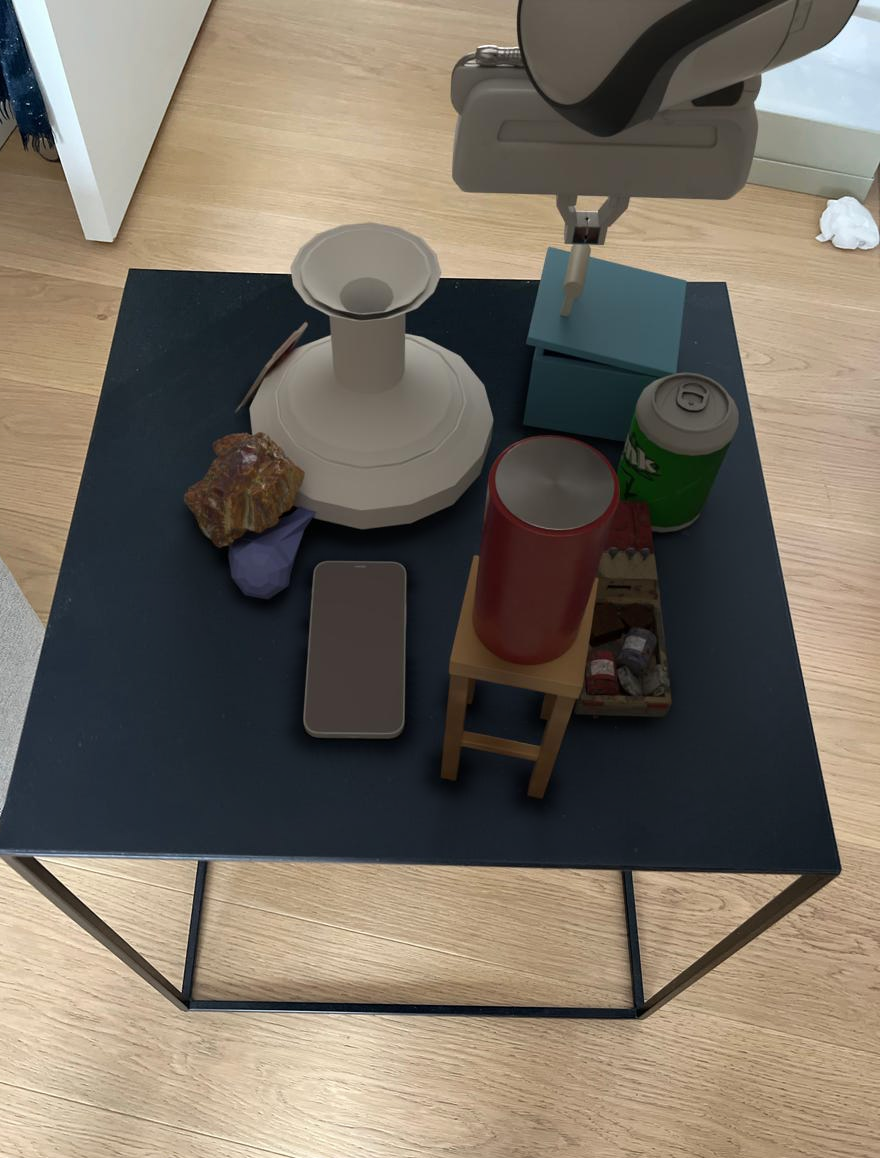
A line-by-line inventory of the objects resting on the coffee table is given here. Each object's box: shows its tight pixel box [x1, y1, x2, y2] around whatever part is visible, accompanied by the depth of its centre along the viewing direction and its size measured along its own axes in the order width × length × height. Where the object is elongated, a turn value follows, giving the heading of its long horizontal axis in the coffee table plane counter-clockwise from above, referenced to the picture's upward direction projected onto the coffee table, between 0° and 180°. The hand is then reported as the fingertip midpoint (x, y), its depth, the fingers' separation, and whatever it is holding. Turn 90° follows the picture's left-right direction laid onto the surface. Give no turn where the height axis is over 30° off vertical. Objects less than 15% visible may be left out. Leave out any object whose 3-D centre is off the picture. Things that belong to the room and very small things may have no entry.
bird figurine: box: [227, 506, 316, 600], centre depth 77 cm, size 8×6×6 cm
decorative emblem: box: [234, 321, 309, 414], centre depth 86 cm, size 10×1×10 cm
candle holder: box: [249, 222, 495, 530], centre depth 77 cm, size 20×20×19 cm
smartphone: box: [303, 560, 407, 740], centre depth 75 cm, size 7×1×15 cm
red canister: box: [472, 435, 620, 665], centre depth 52 cm, size 6×6×12 cm
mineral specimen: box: [183, 432, 305, 549], centre depth 77 cm, size 12×8×7 cm, turn 39°
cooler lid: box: [525, 244, 688, 378], centre depth 80 cm, size 12×11×4 cm
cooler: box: [522, 346, 661, 443], centre depth 86 cm, size 11×11×8 cm
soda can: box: [616, 372, 740, 533], centre depth 78 cm, size 8×8×12 cm
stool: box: [440, 555, 598, 799], centre depth 64 cm, size 8×8×17 cm
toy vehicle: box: [573, 501, 673, 719], centre depth 73 cm, size 7×18×8 cm, turn 178°
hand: (583, 239), depth 74 cm, fingers closed
